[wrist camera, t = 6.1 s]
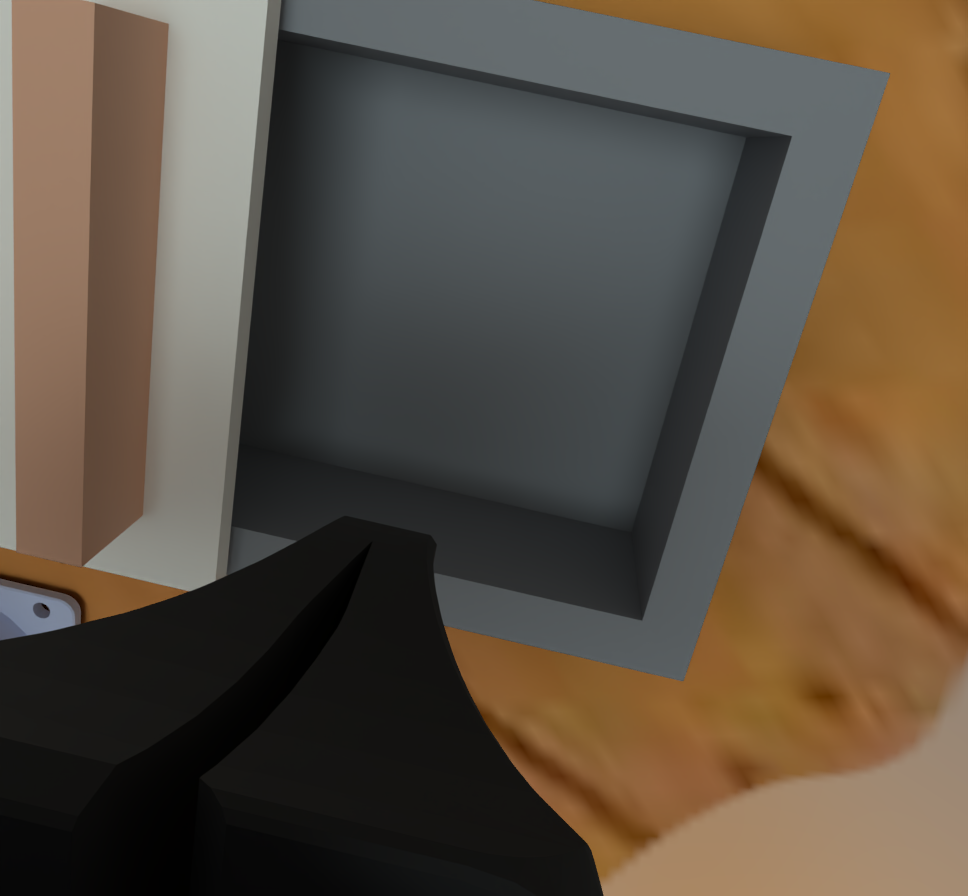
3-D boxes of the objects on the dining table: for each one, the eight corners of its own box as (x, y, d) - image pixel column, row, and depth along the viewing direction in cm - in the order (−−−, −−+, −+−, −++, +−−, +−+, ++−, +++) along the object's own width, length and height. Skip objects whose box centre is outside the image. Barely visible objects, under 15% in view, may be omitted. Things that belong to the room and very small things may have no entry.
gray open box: (20, 422, 23) (-123, 493, 18) (17, -73, 19) (-170, -144, 14) (662, 569, 22) (683, 681, 18) (810, 91, 18) (890, 72, 13)
